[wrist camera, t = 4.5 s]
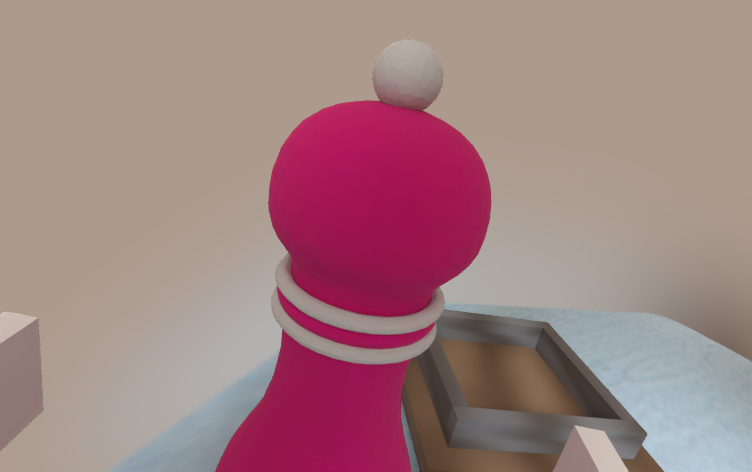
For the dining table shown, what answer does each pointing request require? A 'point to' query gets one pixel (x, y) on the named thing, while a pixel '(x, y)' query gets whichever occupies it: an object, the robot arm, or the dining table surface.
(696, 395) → the dining table surface
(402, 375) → the pepper mill
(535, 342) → the cruet board
